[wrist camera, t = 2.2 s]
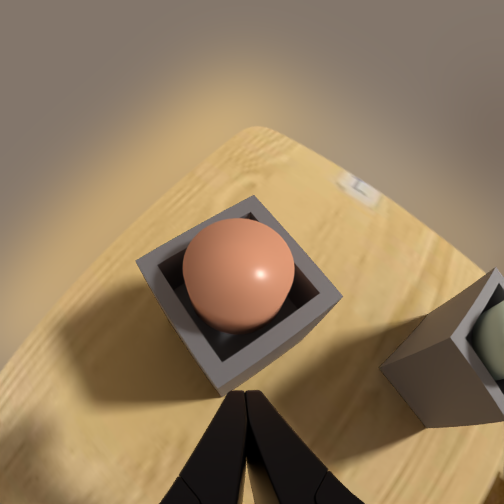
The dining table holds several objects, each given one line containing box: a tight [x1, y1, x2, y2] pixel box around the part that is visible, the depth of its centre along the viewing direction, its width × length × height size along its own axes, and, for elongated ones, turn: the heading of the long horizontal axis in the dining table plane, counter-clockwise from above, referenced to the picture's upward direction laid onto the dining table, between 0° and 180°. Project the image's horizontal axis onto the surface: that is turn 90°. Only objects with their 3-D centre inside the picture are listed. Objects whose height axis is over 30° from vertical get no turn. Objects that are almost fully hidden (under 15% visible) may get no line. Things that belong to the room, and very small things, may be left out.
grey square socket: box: [379, 267, 504, 428], centre depth 17 cm, size 7×7×9 cm
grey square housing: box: [136, 195, 343, 397], centre depth 18 cm, size 7×7×9 cm
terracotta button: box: [183, 218, 294, 335], centre depth 14 cm, size 5×5×2 cm
